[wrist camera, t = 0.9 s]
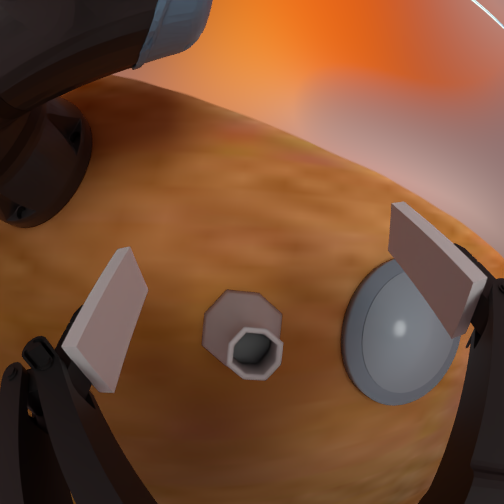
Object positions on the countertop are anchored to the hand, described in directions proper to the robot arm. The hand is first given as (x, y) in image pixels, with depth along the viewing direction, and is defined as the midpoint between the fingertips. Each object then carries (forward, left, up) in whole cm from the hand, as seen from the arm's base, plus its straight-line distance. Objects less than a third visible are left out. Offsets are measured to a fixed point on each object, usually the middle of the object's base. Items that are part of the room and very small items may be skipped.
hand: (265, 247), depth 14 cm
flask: (+3, -5, -13) cm, 14 cm away
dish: (+18, +4, -12) cm, 22 cm away
